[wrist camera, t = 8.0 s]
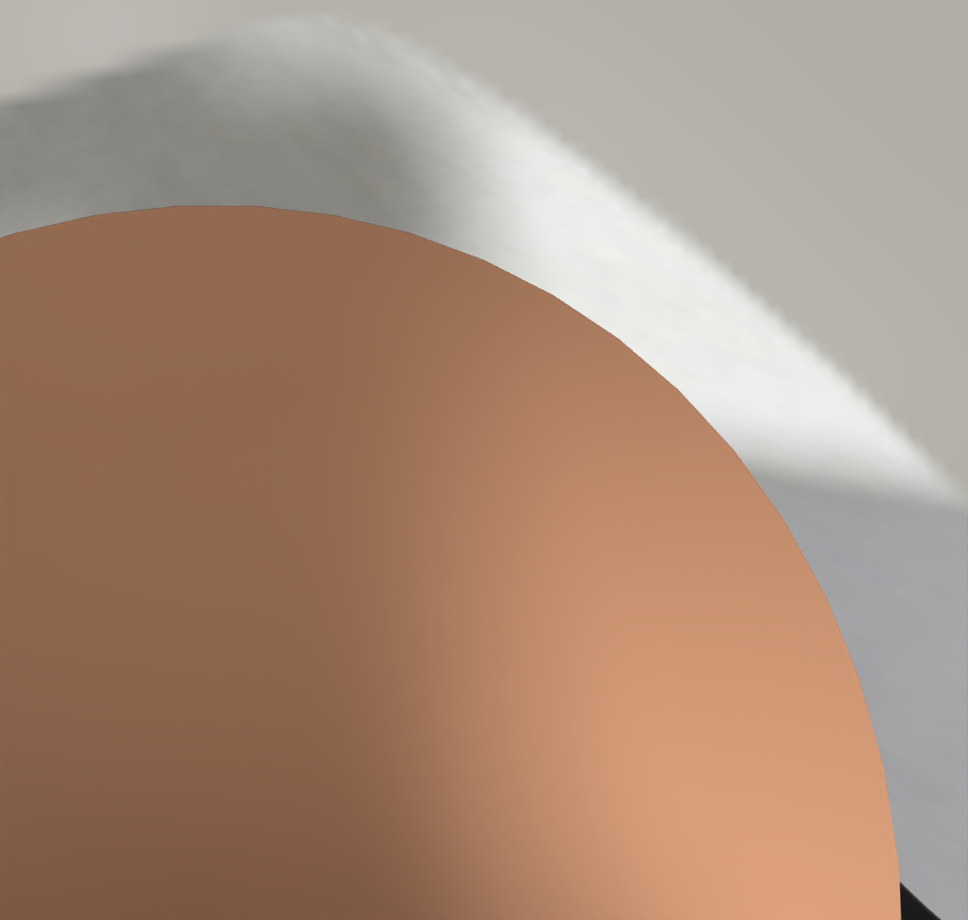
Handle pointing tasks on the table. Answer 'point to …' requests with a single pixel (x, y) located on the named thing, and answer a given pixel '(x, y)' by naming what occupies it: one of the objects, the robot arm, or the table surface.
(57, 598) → the peg
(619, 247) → the table surface
